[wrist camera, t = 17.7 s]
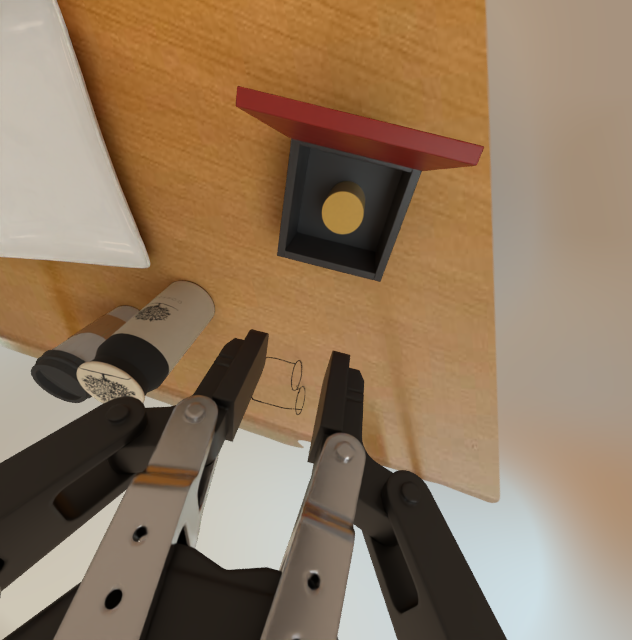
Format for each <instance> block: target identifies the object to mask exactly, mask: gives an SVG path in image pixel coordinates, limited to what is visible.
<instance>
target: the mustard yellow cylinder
mask: <svg viewBox="0 0 632 640" xmlns="http://www.w3.org/2000/svg"><path fill="white" fill-rule="evenodd" d="M364 207H365V195H364V192H363V190H362V189H361V187H360V186H359V185H357V184H356V183H354V182H351V181H343V182H340V183H338V184H336V185H335V186H334V187H333V188H332V190H331V191H330V193H329V195H328V197H327V198H326V200H325V202H324V204H323V207H322V218H323V221H324V223H325V225H326V226H327V228H328V229H330V230H331V231H332V232H334V233H337V234H348V233H351V232H353V231H354V230H356V229H357V228H358V227H359V226H360V224H361V222H362V220H363V216H364Z"/></svg>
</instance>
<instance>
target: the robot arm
mask: <svg viewBox="0 0 632 640" xmlns="http://www.w3.org/2000/svg"><path fill="white" fill-rule="evenodd" d="M268 337H269V334H268V333H264V332H260V331H256V330H253V329H251V330H250V331H249V333H248V334H247V336H246V338H245V340H241V339H237V338H234V339H233V340H231V341H230V342H228V343H227V344H226V345H225V346H224V347H223V349H222V350H221V352H220V354H219V356H218V357H217V358H216V360H215V361H214V364H213V365H212V366H211V368H210V369H209V371H208V372H207V374H206V376H205V377H204V379H203V380H202V382H201V383H200V385H199V387H198V388H197V390H196V391H195V393H194V394H193V395H192V396H190V397H187V398H185V399H183V400H182V401H180V402H179V403H178V404H177V405H175V406H171V407H153V408H145V407H144V404H143V403H142V402H141V401H140V400H139V399H137V398H134V397H128V396H126V397H118V398H114V399H112V400H109V401H107V402H106V403H104V404H102V405H100V406H99V407H97V408H95V409H93V410H92V411H90V412H88V413H87V414H85V415H83V416H81V417H80V418H78V419H76V420H74V421H73V422H71V423H69V424H68V425H66V426H64V427H62V428H61V429H59V430H57V431H55V432H54V433H52V434H50V435H48V436H47V437H45V438H43V439H41V440H40V441H38V442H36V443H35V444H33V445H31V446H29V447H28V448H26V449H24V450H22V451H21V452H19V453H17V454H15V455H14V456H12V457H10V458H9V459H7V460H5V461H3V462H2V463H0V595H1V591H2V590H3V589H5V588H6V587H7V586H8V585H10V584H11V583H12V582H13V581H15V580H16V579H17V578H18V577H19V576H21V575H22V574H23V573H24V572H25V571H27V570H28V569H29V568H30V567H32V566H33V565H34V564H35V563H37V562H38V561H39V560H40V559H42V558H43V557H44V556H45V555H46V554H47V553H49V552H50V551H51V550H53V549H54V548H55V547H56V546H58V545H59V544H60V543H61V542H62V541H64V540H65V539H66V538H67V537H69V536H70V535H71V534H72V533H73V532H75V531H76V530H77V529H78V528H80V527H81V526H82V525H83V524H85V523H86V522H87V521H88V520H89V519H91V518H92V517H93V516H94V515H96V514H97V513H98V512H99V511H100V510H102V509H103V508H104V507H105V506H106V505H108V504H109V503H110V502H112V501H113V500H114V499H115V498H116V497H118V496H119V495H120V494H121V493H123V492H124V491H125V490H126V489H127V490H126V492H125V494H124V496H123V498H122V500H121V502H120V504H119V506H118V509H117V511H116V513H115V515H114V517H113V519H112V521H111V523H110V525H109V527H108V529H107V531H106V533H105V535H104V537H103V539H102V541H101V543H100V545H99V547H98V550H97V552H96V554H95V555H94V558H93V560H92V562H91V564H90V566H89V568H88V570H87V572H86V574H85V576H84V578H83V580H82V582H80V583H79V584H78V585H76V586H75V587H73V588H72V589H71V590H69V591H68V592H67V593H65V594H64V595H63V596H61V597H60V598H58V599H57V600H56V601H54V602H53V603H52V604H50V605H49V606H48V607H46V608H45V609H44V610H42V611H41V612H39V613H38V614H37V615H35V616H34V617H32V618H31V619H30V620H28V621H27V622H26V623H24V624H23V625H22V626H20V627H19V628H17V629H16V630H15V631H13V632H12V633H11V634H9V635H8V636H7V637H5V638H4V639H3V640H338V637H337V634H338V629H339V623H340V618H341V612H342V607H343V601H344V596H345V590H346V585H347V579H348V574H349V568H350V563H351V557H352V552H353V546H354V538H355V531H354V529H353V524H354V525H356V526H357V527H358V528H360V529H361V530H362V532H363V536H364V539H365V542H366V545H367V548H368V551H369V554H370V557H371V560H372V563H373V566H374V569H375V572H376V575H377V578H378V581H379V584H380V588H381V591H382V594H383V596H384V599H385V603H386V606H387V609H388V612H389V615H390V618H391V621H392V624H393V627H394V630H395V633H396V636H397V639H398V640H507V639H506V637H505V635H504V633H503V631H502V629H501V627H500V625H499V623H498V621H497V619H496V618H495V616H494V614H493V612H492V610H491V608H490V606H489V604H488V602H487V600H486V598H485V596H484V594H483V592H482V590H481V588H480V587H479V585H478V583H477V581H476V579H475V577H474V575H473V573H472V571H471V569H470V567H469V565H468V563H467V561H466V560H465V558H464V556H463V554H462V552H461V550H460V548H459V546H458V544H457V542H456V540H455V538H454V536H453V535H452V533H451V531H450V529H449V527H448V525H447V523H446V521H445V519H444V517H443V515H442V513H441V511H440V509H439V508H438V506H437V504H436V502H435V500H434V498H433V496H432V494H431V492H430V490H429V489H428V487H427V485H426V484H425V483H424V481H423V480H422V479H421V478H420V477H418V476H417V475H416V474H414V473H412V472H410V471H406V470H400V471H396V472H394V473H392V472H391V471H389V470H387V469H386V468H384V467H383V466H381V465H380V464H378V463H377V462H375V461H374V460H373V459H372V458H371V457H370V456H369V455H368V453H367V452H366V450H365V448H364V446H363V442H362V420H363V396H364V394H363V393H364V380H363V377H362V375H361V373H360V370H356V369H352V368H349V362H350V355H348V354H345V353H341V352H337V351H332V354H331V357H330V361H329V364H328V367H327V370H326V373H325V377H324V380H323V384H322V389H321V394H320V399H319V405H318V410H317V415H316V420H315V425H314V430H313V436H312V441H311V446H310V451H309V456H308V462H310V463H314V465H313V470H312V476H311V479H310V481H309V484H308V487H307V490H306V493H305V496H304V499H303V502H302V505H301V508H300V511H299V514H298V517H297V520H296V523H295V526H294V529H293V532H292V535H291V537H290V540H289V543H288V546H287V549H286V551H285V554H284V557H283V560H282V563H281V566H280V569H279V571H278V570H274V569H271V568H267V567H265V568H251V569H235V570H226V569H224V568H222V567H220V566H219V565H217V564H216V563H215V562H213V561H212V560H210V559H209V558H207V557H206V556H205V555H203V554H202V553H200V552H199V551H197V550H196V549H195V547H196V543H197V539H198V535H199V530H200V524H201V518H202V513H203V509H204V505H205V502H206V498H207V495H208V491H209V488H210V484H211V481H212V477H213V474H214V470H215V466H216V463H217V459H218V454H219V452H220V449H221V447H222V445H223V443H224V441H225V440H229V441H233V439H234V437H235V434H236V432H237V430H238V427H239V425H240V423H241V421H242V418H243V416H244V414H245V411H246V409H247V407H248V404H249V402H250V400H251V397H252V395H253V393H254V390H255V388H256V386H257V383H258V381H259V379H260V376H261V374H262V371H263V368H264V365H265V360H266V353H267V345H268ZM138 541H140V542H138Z"/></svg>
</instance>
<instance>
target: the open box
mask: <svg viewBox="0 0 632 640" xmlns="http://www.w3.org/2000/svg"><path fill="white" fill-rule="evenodd" d="M421 172H422V171H420V170H416V169H412V168H408V167H404V166H400V165H396V164H392V163H388V162H384V161H380V160H376V159H372V158H368V157H364V156H360V155H356V154H352V153H348V152H343V151H339V150H335V149H331V148H327V147H323V146H319V145H315V144H311V143H307V142H303V141H299V140H295V139H291V147H290V155H289V163H288V171H287V179H286V187H285V195H284V203H283V211H282V220H281V228H280V236H279V244H278V252H277V256H281V257H285V258H288V259H292V260H296V261H300V262H304V263H308V264H312V265H316V266H320V267H324V268H328V269H332V270H336V271H340V272H343V273H347V274H351V275H355V276H359V277H363V278H367V279H371V280H375V281H379V282H380V281H381V279H382V276H383V273H384V271H385V268H386V265H387V263H388V260H389V257H390V254H391V252H392V249H393V246H394V244H395V241H396V238H397V236H398V233H399V230H400V228H401V225H402V222H403V220H404V217H405V214H406V212H407V209H408V206H409V204H410V201H411V198H412V196H413V193H414V190H415V188H416V185H417V182H418V180H419V177H420V174H421ZM343 181H351V182H354V183H356V184H357V185H359V186H360V187H361V189H362V190H363V192H364V195H365V207H364V216H363V220H362V222H361V224H360V226H359V227H358V228H357V229H356V230H354V231H353V232H351V233H348V234H337V233H334V232H332V231H331V230H330V229H328V228H327V226H326V225H325V223H324V221H323V218H322V207H323V204H324V202H325V200H326V198H327V197H328V195H329V193H330V191H331V190H332V188H333V187H334V186H335V185H336V184H338V183H340V182H343Z"/></svg>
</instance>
